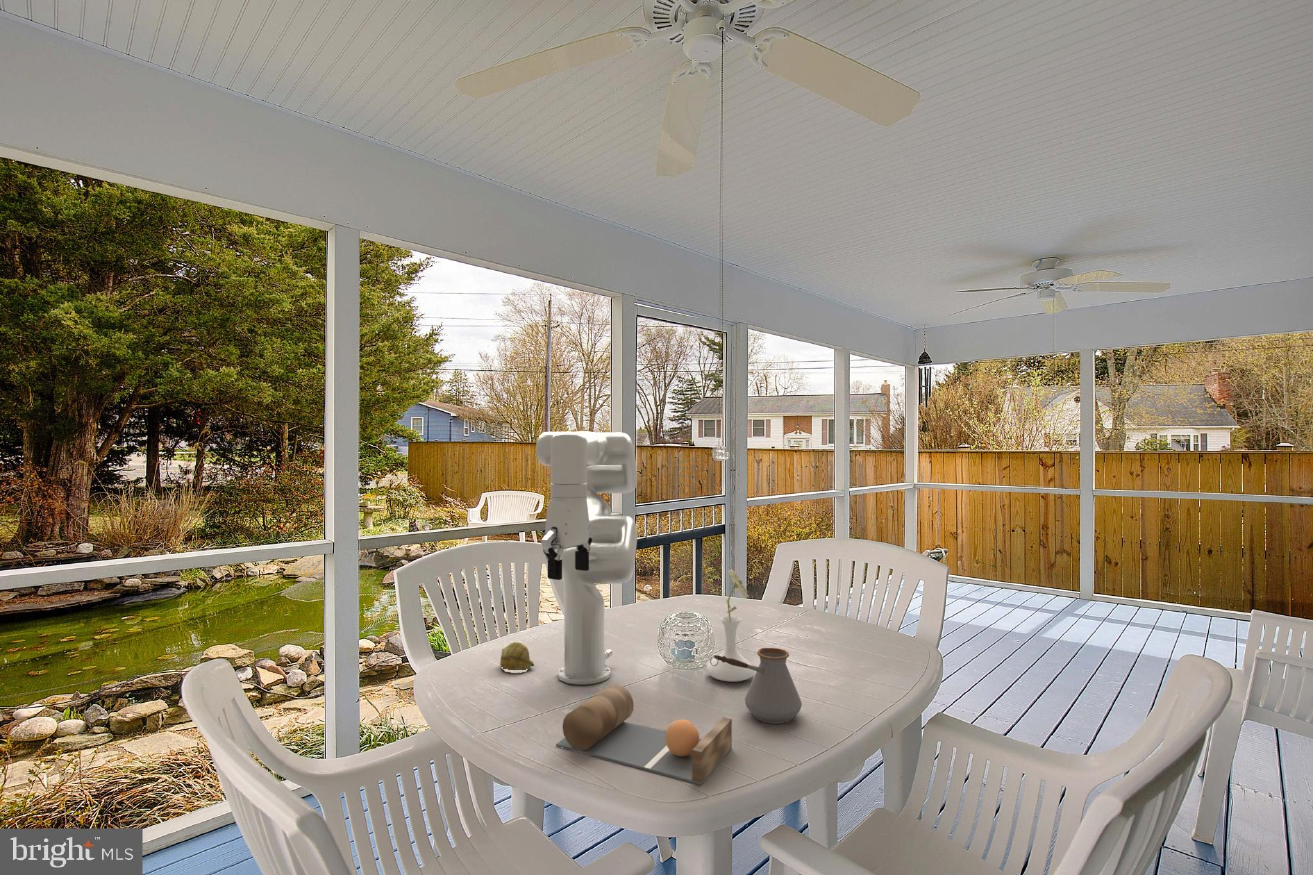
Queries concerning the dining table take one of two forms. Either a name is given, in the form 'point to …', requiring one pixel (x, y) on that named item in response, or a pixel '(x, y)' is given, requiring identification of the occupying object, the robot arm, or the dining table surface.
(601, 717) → the brown cylinder
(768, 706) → the coffee pot
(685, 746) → the ball
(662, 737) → the throwing mat
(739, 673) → the flower in vase
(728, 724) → the backstop board
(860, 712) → the dining table surface
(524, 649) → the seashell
